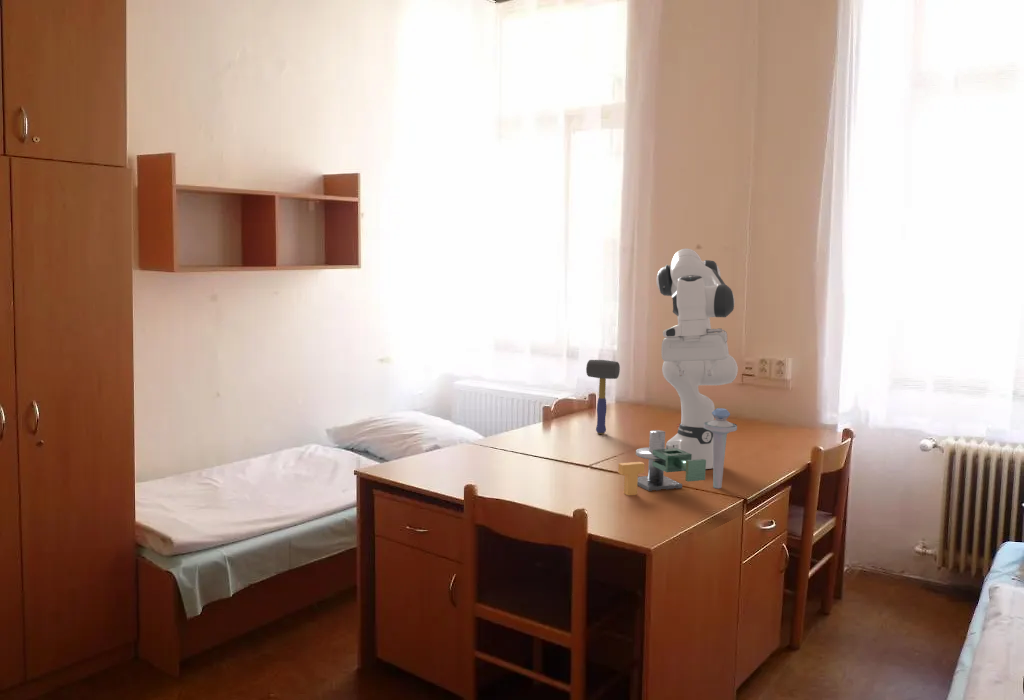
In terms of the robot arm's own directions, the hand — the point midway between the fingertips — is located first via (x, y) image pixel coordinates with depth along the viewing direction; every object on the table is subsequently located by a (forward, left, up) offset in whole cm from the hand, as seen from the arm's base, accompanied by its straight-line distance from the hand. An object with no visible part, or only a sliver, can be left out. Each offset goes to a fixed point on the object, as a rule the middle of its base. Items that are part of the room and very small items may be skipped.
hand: (695, 375), depth 259 cm
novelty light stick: (-4, +13, -37) cm, 39 cm away
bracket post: (-6, -4, -37) cm, 37 cm away
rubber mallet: (-86, +15, -37) cm, 95 cm away
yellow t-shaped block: (-6, -17, -37) cm, 41 cm away
